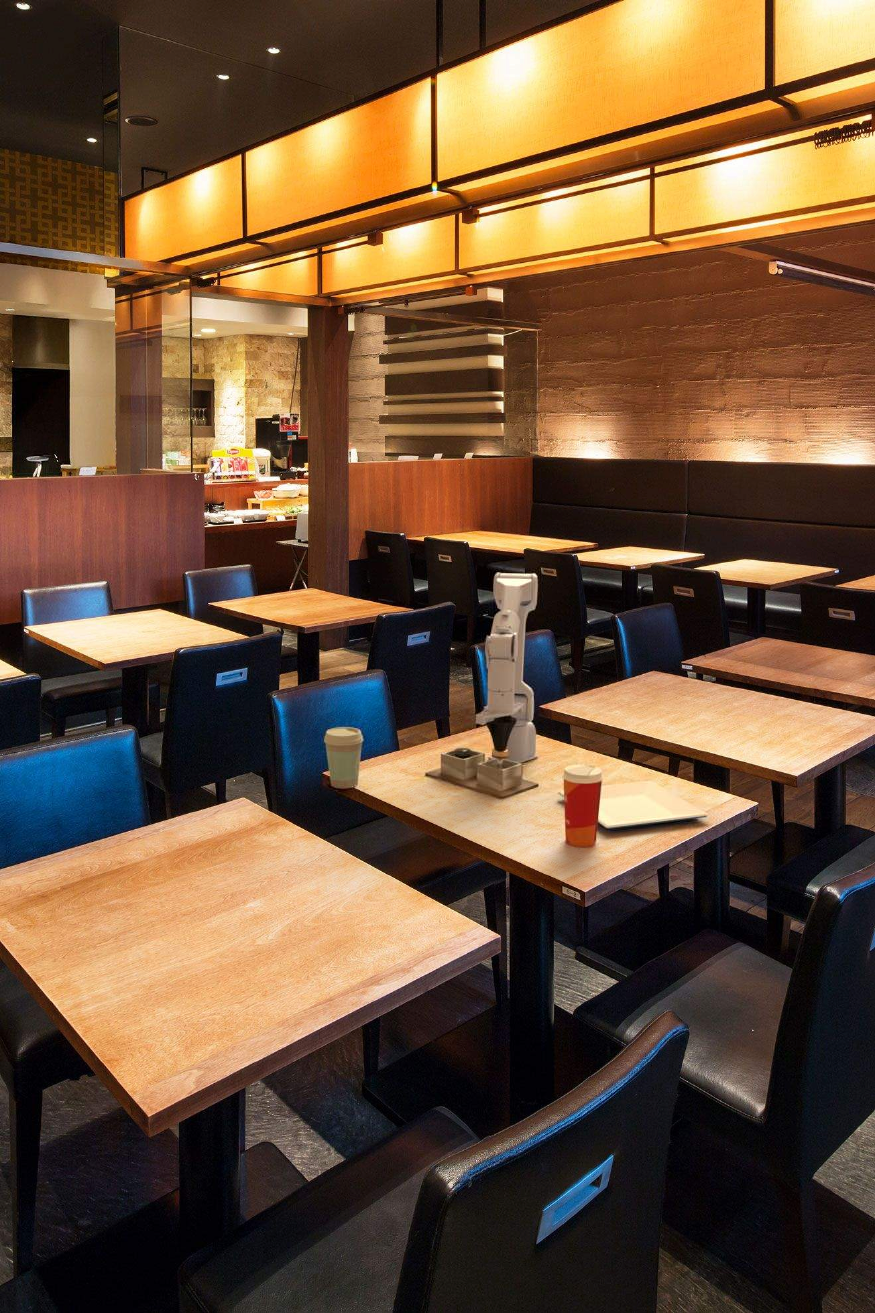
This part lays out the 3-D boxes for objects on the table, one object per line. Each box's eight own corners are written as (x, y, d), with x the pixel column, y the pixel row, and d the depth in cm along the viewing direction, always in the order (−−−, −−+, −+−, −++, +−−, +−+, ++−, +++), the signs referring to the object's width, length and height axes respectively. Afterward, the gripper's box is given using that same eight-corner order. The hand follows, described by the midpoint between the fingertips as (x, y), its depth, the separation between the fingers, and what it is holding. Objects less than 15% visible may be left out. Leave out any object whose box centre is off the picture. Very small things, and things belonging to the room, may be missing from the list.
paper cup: (574, 831, 195) (576, 761, 192) (609, 840, 190) (611, 769, 187) (551, 843, 189) (553, 770, 186) (587, 853, 184) (589, 779, 181)
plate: (606, 837, 192) (606, 826, 192) (556, 799, 213) (556, 790, 213) (708, 824, 199) (709, 814, 199) (650, 788, 220) (651, 779, 220)
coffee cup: (362, 791, 218) (361, 737, 215) (322, 790, 218) (321, 736, 216) (365, 778, 226) (364, 726, 224) (327, 778, 226) (326, 726, 224)
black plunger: (462, 767, 232) (462, 745, 231) (477, 772, 229) (477, 750, 228) (447, 772, 228) (447, 750, 227) (463, 777, 225) (463, 754, 224)
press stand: (461, 763, 237) (461, 743, 236) (538, 785, 221) (538, 763, 220) (425, 775, 229) (425, 753, 228) (502, 799, 213) (502, 776, 212)
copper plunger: (498, 768, 224) (499, 745, 223) (515, 773, 221) (515, 750, 220) (484, 773, 221) (484, 750, 219) (501, 778, 217) (501, 754, 216)
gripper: (506, 680, 225) (505, 740, 227) (464, 692, 214) (464, 753, 217) (532, 685, 220) (531, 745, 223) (491, 697, 210) (490, 760, 212)
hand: (500, 750), depth 220 cm, fingers closed, pressing on copper plunger
